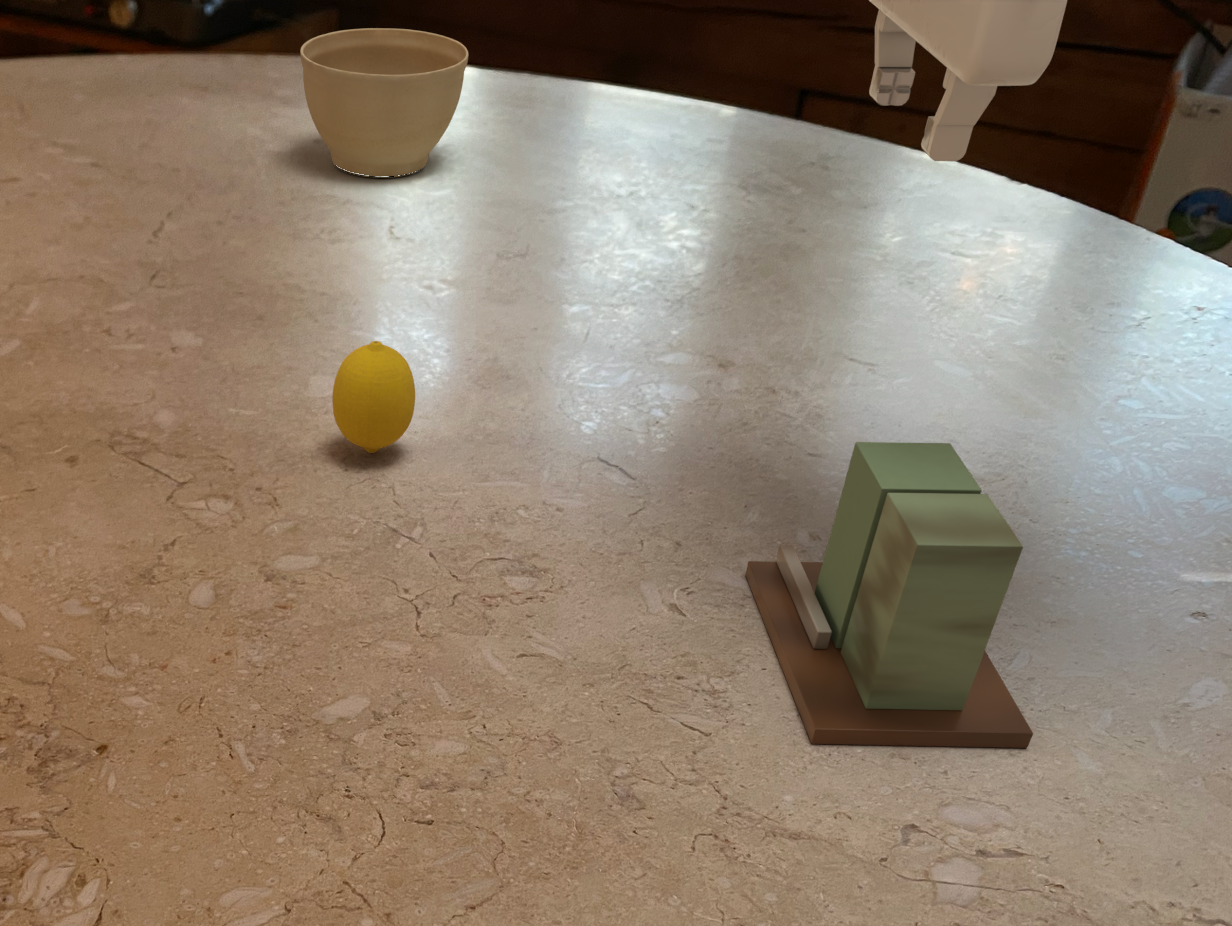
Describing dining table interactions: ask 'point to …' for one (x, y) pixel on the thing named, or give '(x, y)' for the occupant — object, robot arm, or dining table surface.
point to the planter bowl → (382, 95)
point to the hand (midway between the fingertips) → (912, 128)
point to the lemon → (373, 396)
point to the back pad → (878, 513)
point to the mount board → (844, 705)
